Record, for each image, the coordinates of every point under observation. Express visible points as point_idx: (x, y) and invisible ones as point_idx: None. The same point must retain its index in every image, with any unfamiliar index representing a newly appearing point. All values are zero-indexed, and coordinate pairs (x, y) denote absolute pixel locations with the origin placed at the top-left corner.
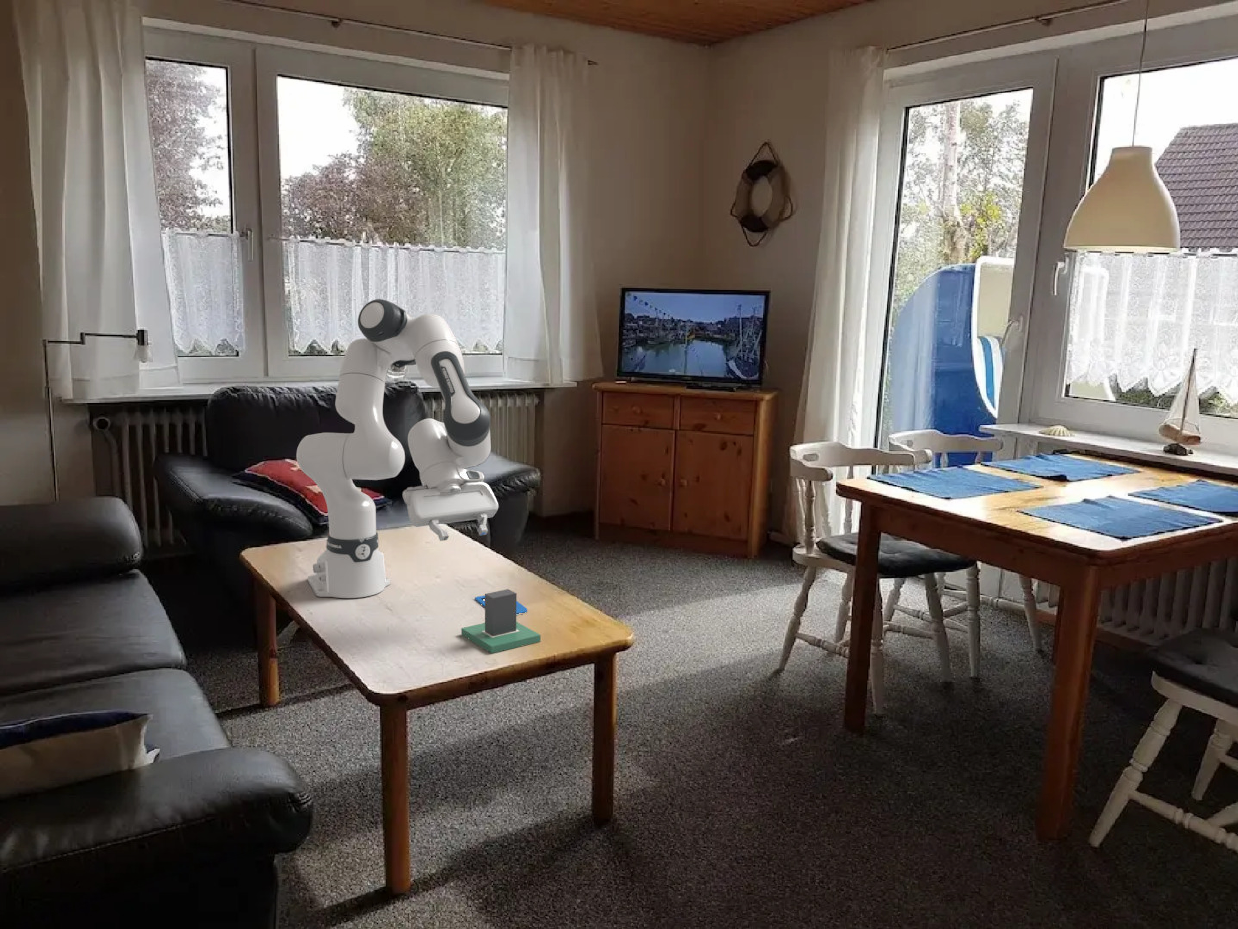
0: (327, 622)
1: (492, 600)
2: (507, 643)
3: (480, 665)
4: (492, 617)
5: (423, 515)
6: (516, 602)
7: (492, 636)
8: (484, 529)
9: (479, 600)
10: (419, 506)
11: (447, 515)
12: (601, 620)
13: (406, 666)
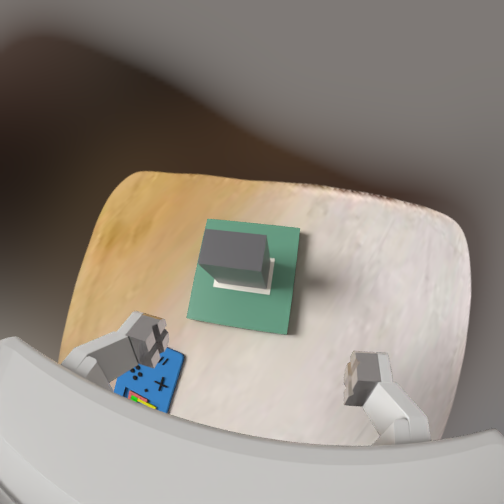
0: None
1: (266, 239)
2: (270, 225)
3: (338, 210)
4: (268, 252)
5: (488, 444)
6: (120, 378)
7: (271, 261)
8: (144, 317)
9: None
10: (499, 500)
11: (330, 446)
12: (97, 233)
13: (420, 275)
